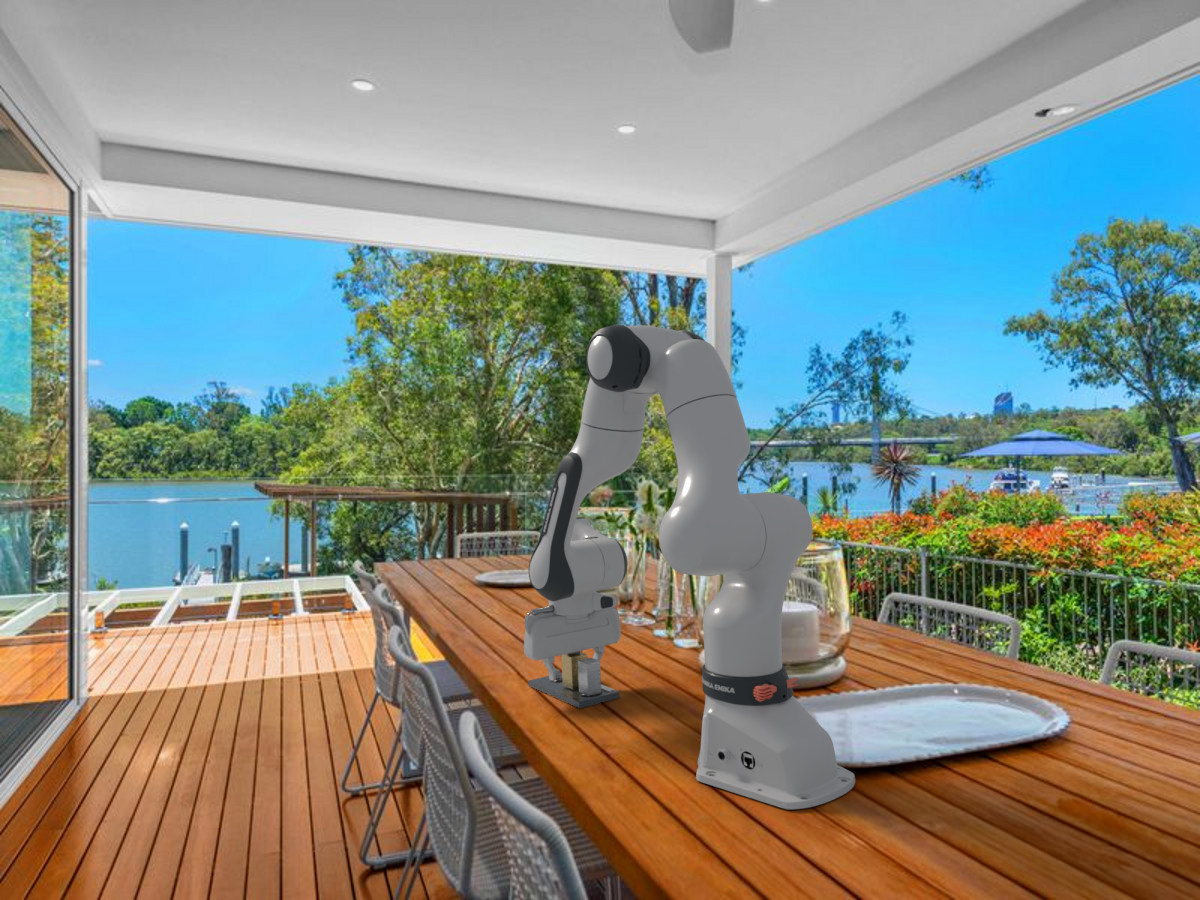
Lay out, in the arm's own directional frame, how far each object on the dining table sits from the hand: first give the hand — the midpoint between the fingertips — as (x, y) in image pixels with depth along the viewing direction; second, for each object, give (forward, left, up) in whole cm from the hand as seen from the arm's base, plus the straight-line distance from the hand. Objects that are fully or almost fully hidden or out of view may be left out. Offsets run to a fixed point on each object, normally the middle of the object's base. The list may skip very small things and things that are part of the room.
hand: (574, 674), depth 151 cm
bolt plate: (+1, 0, -4) cm, 4 cm away
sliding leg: (0, 0, -2) cm, 2 cm away
